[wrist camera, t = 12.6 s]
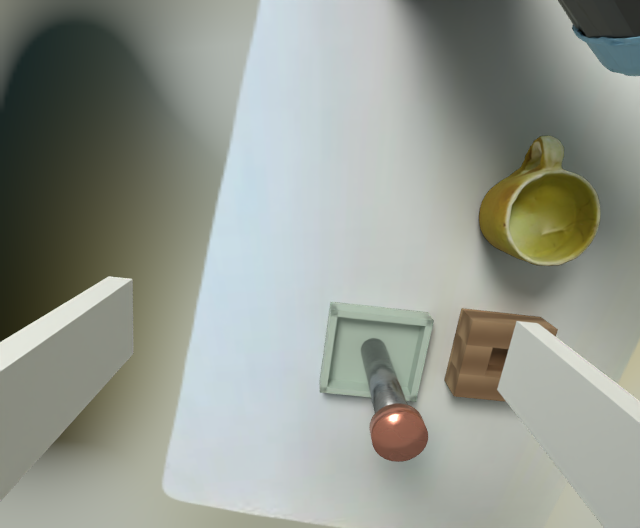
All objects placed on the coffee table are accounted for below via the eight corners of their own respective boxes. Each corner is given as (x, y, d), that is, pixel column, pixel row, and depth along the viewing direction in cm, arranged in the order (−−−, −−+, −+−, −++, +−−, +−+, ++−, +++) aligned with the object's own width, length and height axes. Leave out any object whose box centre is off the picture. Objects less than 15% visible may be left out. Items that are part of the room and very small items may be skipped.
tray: (330, 301, 47) (331, 309, 45) (427, 312, 48) (433, 320, 45) (319, 381, 50) (319, 392, 48) (411, 390, 50) (415, 401, 48)
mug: (562, 269, 44) (600, 275, 35) (468, 254, 47) (478, 255, 37) (585, 161, 43) (630, 136, 34) (488, 152, 46) (504, 126, 36)
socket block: (461, 308, 47) (472, 320, 44) (540, 317, 48) (557, 329, 45) (444, 379, 50) (453, 396, 47) (519, 387, 51) (534, 404, 47)
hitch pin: (351, 365, 49) (367, 458, 34) (357, 330, 47) (377, 411, 32) (389, 368, 49) (422, 463, 34) (395, 334, 48) (433, 417, 33)
